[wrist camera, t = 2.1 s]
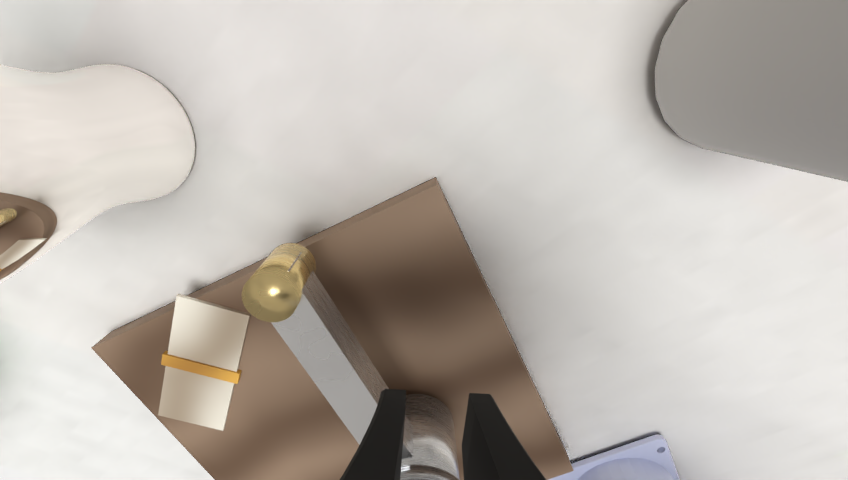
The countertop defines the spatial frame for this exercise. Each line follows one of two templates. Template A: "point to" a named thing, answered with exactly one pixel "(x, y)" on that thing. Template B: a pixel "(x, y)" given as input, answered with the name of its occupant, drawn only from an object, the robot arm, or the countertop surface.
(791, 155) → the can
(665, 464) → the robot arm
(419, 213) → the brown flat wooden board
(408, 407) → the grey bar with knobs
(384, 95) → the countertop surface
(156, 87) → the beer glass
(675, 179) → the countertop surface
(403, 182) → the countertop surface
